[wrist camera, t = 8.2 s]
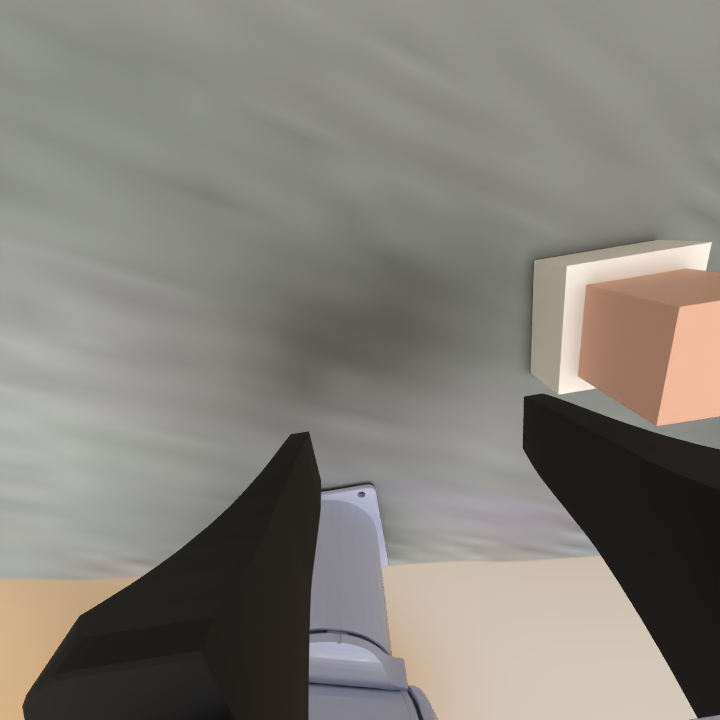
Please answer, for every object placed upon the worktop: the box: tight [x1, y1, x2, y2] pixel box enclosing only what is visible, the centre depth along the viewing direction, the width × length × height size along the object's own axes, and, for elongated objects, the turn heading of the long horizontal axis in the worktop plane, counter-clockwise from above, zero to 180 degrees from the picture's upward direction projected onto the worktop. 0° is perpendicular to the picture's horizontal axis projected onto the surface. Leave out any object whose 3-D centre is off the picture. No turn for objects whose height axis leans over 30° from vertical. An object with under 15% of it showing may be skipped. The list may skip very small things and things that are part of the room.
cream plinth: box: [531, 240, 712, 394], centre depth 19 cm, size 7×7×3 cm
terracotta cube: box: [578, 269, 720, 426], centre depth 15 cm, size 5×5×5 cm
